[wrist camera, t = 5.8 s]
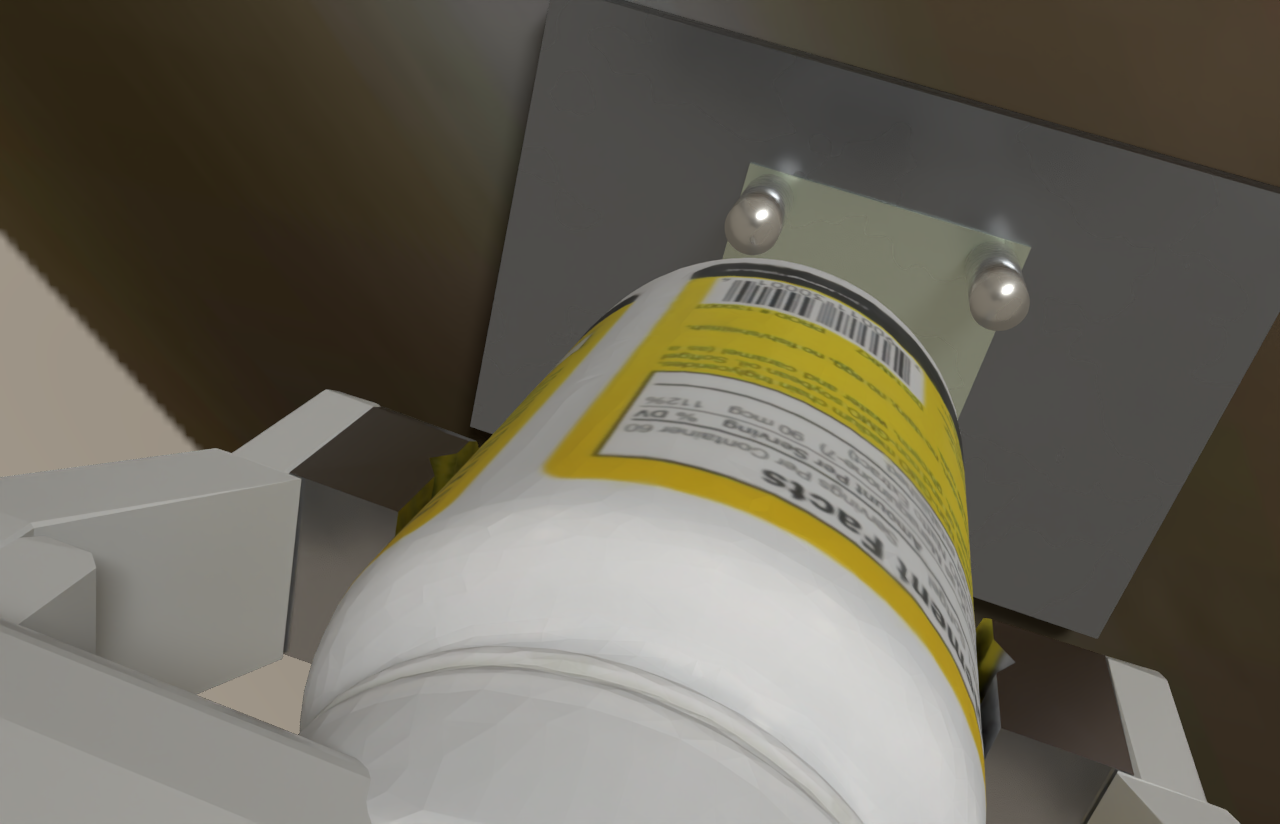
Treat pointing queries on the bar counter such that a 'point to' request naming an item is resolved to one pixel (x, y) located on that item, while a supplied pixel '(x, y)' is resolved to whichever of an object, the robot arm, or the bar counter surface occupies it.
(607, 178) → the grey fixture plate
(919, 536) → the supplement bottle
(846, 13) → the bar counter surface
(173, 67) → the bar counter surface
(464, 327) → the bar counter surface
